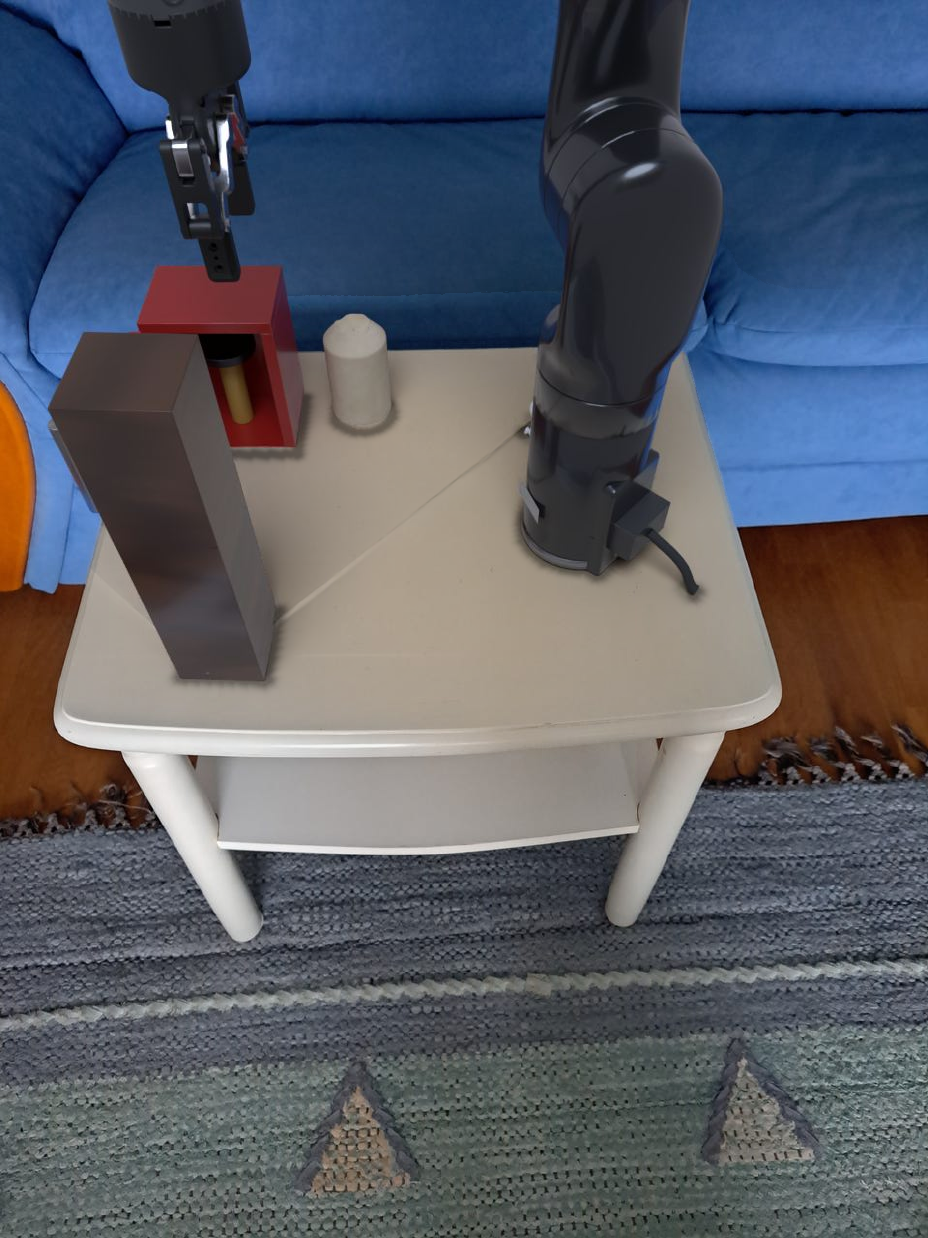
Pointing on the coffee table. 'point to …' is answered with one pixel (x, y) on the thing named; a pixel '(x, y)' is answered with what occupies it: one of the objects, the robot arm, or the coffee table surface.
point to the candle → (358, 370)
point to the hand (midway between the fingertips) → (234, 245)
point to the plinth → (170, 496)
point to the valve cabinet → (237, 308)
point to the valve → (231, 369)
